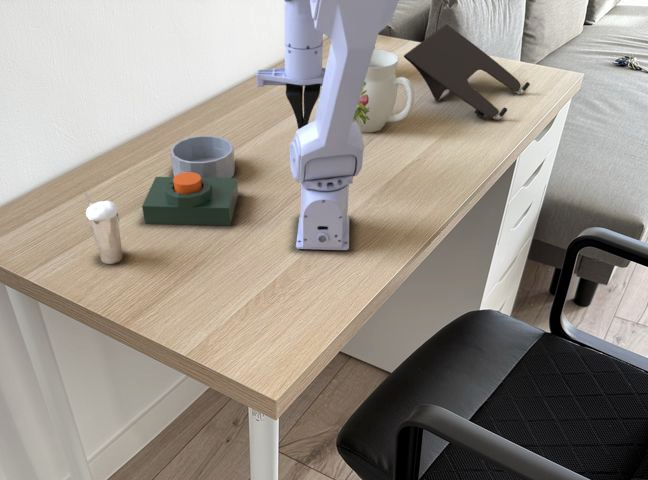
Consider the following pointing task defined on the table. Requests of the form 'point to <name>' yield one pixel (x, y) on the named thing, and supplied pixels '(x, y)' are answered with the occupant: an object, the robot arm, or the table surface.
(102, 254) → the milkshake
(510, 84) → the laptop tray
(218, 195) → the control box
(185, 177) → the button
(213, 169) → the pot
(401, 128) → the table surface
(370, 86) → the white floral pitcher
